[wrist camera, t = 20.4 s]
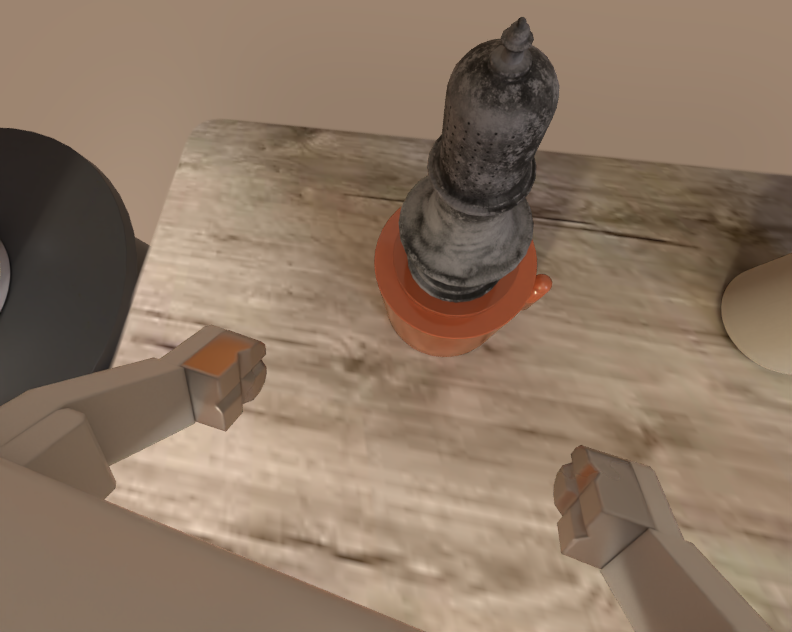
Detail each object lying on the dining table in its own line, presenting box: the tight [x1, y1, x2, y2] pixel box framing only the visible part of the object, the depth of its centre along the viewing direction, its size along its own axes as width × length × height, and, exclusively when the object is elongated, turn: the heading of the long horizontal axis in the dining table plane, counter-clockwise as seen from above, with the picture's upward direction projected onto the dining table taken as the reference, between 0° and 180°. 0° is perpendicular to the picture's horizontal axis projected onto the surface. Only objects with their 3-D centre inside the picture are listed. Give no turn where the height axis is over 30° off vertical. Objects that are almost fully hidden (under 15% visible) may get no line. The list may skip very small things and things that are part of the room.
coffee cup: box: [374, 206, 552, 357], centre depth 23 cm, size 10×9×9 cm
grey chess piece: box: [398, 17, 559, 303], centre depth 13 cm, size 6×6×12 cm
